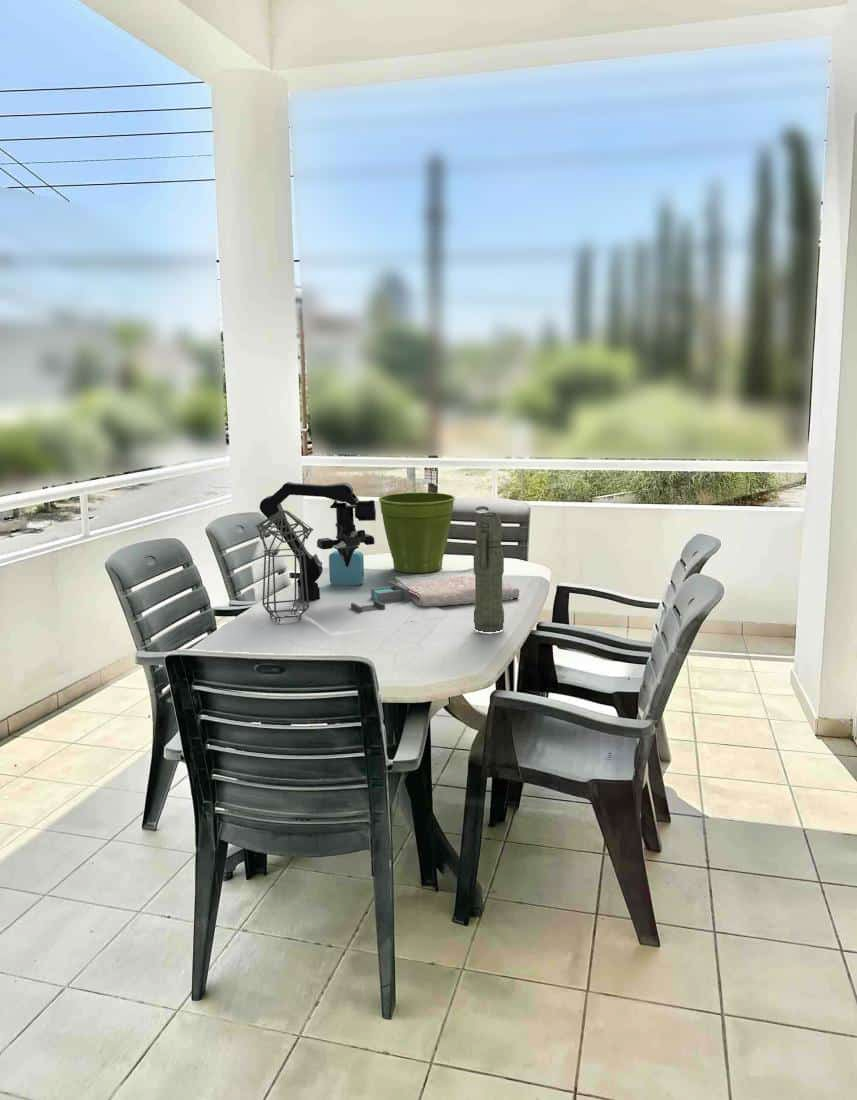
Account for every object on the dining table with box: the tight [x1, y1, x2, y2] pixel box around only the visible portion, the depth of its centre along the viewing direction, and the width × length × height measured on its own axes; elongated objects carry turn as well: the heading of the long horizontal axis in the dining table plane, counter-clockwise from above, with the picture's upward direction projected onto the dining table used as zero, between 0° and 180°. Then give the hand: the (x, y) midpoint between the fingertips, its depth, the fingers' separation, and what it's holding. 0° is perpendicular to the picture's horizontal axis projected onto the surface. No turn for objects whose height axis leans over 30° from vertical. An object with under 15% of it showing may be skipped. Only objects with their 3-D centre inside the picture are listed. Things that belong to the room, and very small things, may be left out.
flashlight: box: [473, 512, 505, 632], centre depth 255 cm, size 9×12×35 cm
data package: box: [328, 550, 365, 586], centre depth 320 cm, size 12×4×12 cm, turn 79°
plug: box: [373, 589, 393, 601], centre depth 294 cm, size 8×4×4 cm, turn 114°
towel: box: [394, 567, 520, 608], centre depth 303 cm, size 36×34×6 cm
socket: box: [370, 580, 410, 604], centre depth 295 cm, size 9×14×5 cm, turn 26°
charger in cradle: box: [350, 599, 386, 613], centre depth 283 cm, size 9×7×2 cm
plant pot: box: [378, 492, 456, 574], centre depth 342 cm, size 30×30×29 cm
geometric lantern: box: [254, 509, 314, 623], centre depth 270 cm, size 16×16×35 cm
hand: (346, 566), depth 294 cm, fingers closed
